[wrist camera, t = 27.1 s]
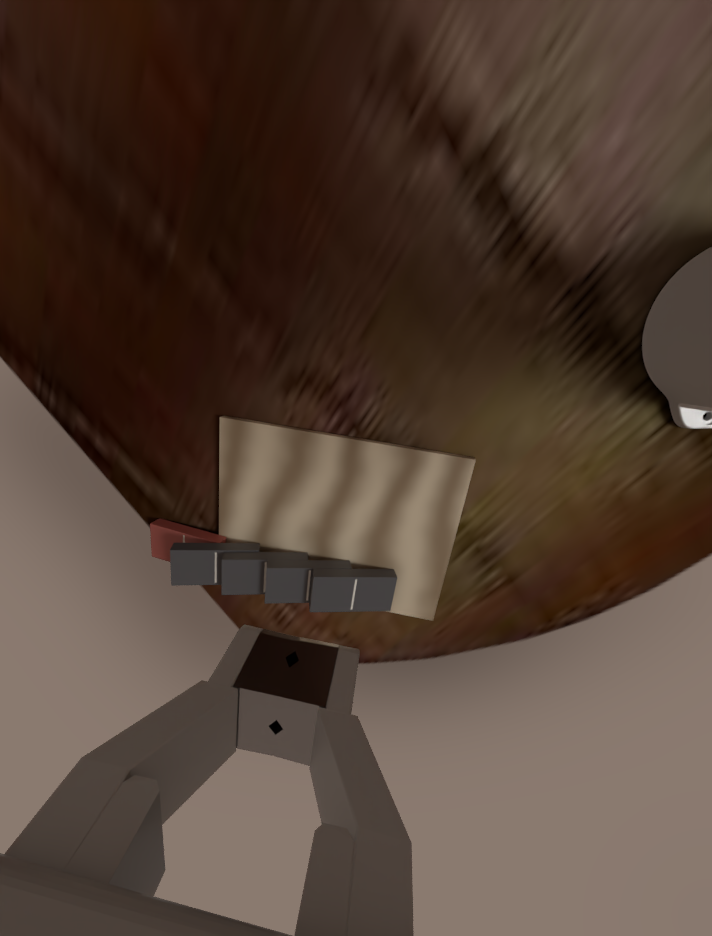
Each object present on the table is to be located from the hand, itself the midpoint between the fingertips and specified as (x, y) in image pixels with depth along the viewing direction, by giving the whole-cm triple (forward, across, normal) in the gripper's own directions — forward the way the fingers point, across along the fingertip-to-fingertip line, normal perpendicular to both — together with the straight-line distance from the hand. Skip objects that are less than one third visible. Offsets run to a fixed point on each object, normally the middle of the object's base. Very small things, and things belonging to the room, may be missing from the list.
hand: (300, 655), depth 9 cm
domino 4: (+29, -5, +20) cm, 36 cm away
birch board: (+31, +4, +13) cm, 34 cm away
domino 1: (+29, +12, +20) cm, 37 cm away
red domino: (+29, +17, +20) cm, 39 cm away
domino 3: (+29, 0, +20) cm, 36 cm away
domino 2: (+29, +6, +20) cm, 36 cm away
